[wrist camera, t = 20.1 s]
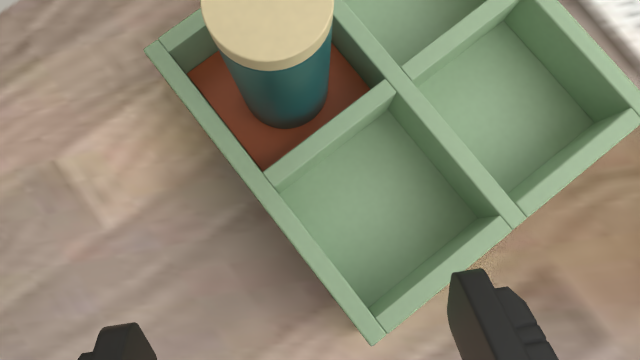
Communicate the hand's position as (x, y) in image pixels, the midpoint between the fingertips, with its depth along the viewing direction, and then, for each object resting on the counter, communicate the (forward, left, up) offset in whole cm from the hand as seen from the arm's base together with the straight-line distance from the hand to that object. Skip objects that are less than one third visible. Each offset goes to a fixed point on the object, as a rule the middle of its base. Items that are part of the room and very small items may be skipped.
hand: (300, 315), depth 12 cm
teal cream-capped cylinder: (+5, +8, -9) cm, 13 cm away
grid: (+8, +4, -9) cm, 13 cm away
